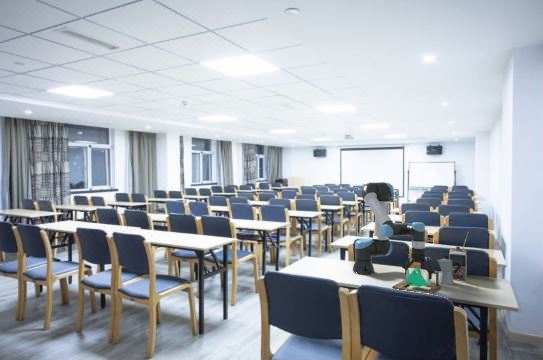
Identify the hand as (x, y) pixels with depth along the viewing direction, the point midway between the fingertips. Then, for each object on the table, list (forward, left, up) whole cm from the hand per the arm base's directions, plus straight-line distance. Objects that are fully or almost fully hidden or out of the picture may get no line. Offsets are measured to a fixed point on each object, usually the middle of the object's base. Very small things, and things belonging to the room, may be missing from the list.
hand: (418, 282), depth 226 cm
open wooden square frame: (-1, 0, -4) cm, 4 cm away
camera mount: (0, -1, -2) cm, 2 cm away
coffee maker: (+11, +24, -4) cm, 27 cm away
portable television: (+12, +44, -4) cm, 46 cm away
